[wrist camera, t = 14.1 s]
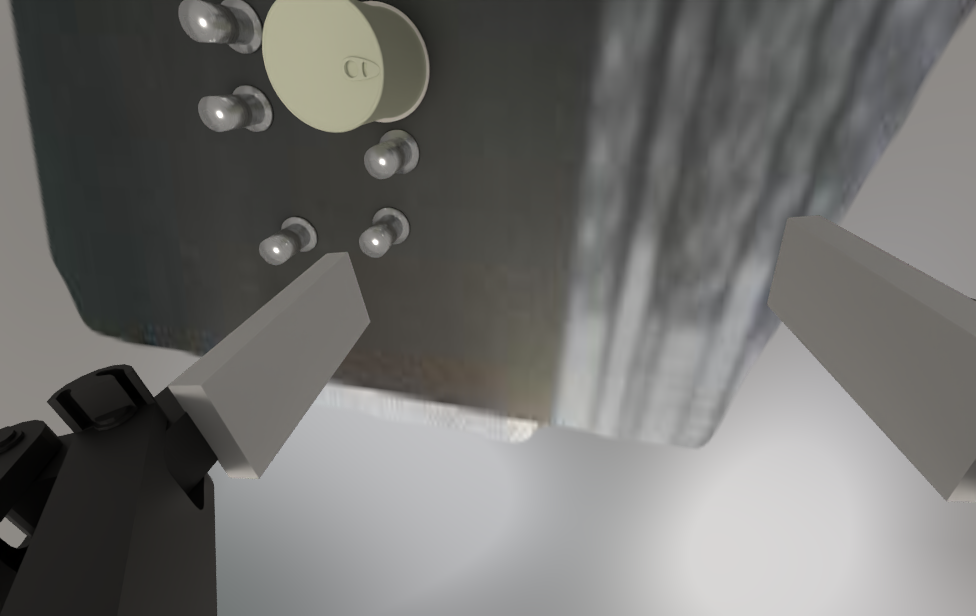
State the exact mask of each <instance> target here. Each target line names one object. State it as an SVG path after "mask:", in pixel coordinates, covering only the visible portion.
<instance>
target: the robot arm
mask: <svg viewBox="0 0 976 616" xmlns="http://www.w3.org/2000/svg"><path fill="white" fill-rule="evenodd" d="M767 305H768V306H769V307H770V308H771V310H772V311H773V312H774V313H775V314H776V315H777V316H778V317H779V318H780V319H781V321H782V322H784V324H785V325H786V326H787V327H788V328H789V329H790V330H791V331H792V333H793V334H794V335H796V337H797V338H798V339H799V340H800V341H801V342H802V344H803V345H804V346H805V347H806V348H807V349H808V350H809V351H810V352H811V353H812V354H813V355H814V357H815V358H816V359H817V360H818V361H819V362H820V363H821V364H822V365H823V366H824V368H825V369H826V370H827V371H828V372H829V373H830V374H831V375H832V376H833V377H834V378H835V380H836V381H837V382H838V383H839V384H840V385H841V386H842V387H843V388H844V389H845V391H846V392H848V394H849V395H850V396H851V397H852V398H853V399H854V400H855V402H856V403H857V404H858V405H859V406H860V407H861V408H862V409H863V410H864V411H865V412H866V414H867V415H868V416H869V417H870V418H871V419H872V420H873V421H874V422H875V423H876V425H877V426H879V428H880V429H881V430H882V431H883V432H884V433H885V434H886V436H887V437H888V438H889V439H890V440H891V441H892V442H893V443H894V444H895V445H896V446H897V448H898V449H899V450H900V451H901V452H902V453H903V454H904V455H905V456H906V457H907V459H909V461H910V462H911V463H912V464H913V465H914V466H915V467H916V468H917V469H918V471H919V472H920V473H921V474H922V475H923V476H924V477H925V478H926V479H927V480H928V482H929V483H930V484H931V485H932V486H933V487H934V488H935V489H936V490H937V491H938V493H939V494H940V495H941V496H942V497H943V498H944V499H945V500H946V501H951V502H976V300H975V299H972V298H969V297H967V296H965V295H963V294H962V293H960V292H958V291H956V290H954V289H953V288H951V287H949V286H947V285H945V284H943V283H942V282H940V281H938V280H936V279H934V278H933V277H931V276H929V275H927V274H925V273H924V272H922V271H920V270H918V269H916V268H914V267H913V266H911V265H909V264H907V263H905V262H904V261H902V260H900V259H898V258H896V257H894V256H892V255H891V254H889V253H887V252H885V251H883V250H882V249H880V248H878V247H876V246H874V245H873V244H871V243H869V242H867V241H865V240H863V239H862V238H860V237H858V236H856V235H854V234H853V233H851V232H849V231H847V230H845V229H843V228H842V227H840V226H838V225H836V224H834V223H833V222H831V221H829V220H827V219H825V218H823V217H822V216H820V215H816V216H803V217H790V218H788V219H787V223H786V227H785V232H784V236H783V240H782V244H781V248H780V252H779V257H778V261H777V265H776V269H775V273H774V277H773V282H772V286H771V290H770V294H769V298H768V303H767ZM369 323H370V319H369V316H368V313H367V310H366V307H365V304H364V301H363V298H362V295H361V292H360V289H359V285H358V282H357V279H356V276H355V273H354V270H353V267H352V264H351V261H350V258H349V255H348V252H341V253H328V254H326V255H324V256H323V257H322V258H321V259H320V260H318V261H317V262H316V263H315V264H314V265H312V266H311V267H310V268H309V269H308V270H306V271H305V272H304V273H303V274H301V275H300V276H299V277H298V278H297V279H295V280H294V281H293V282H292V283H291V284H289V285H288V286H287V287H286V288H285V289H283V290H282V291H281V292H280V293H279V294H277V295H276V296H275V297H274V298H273V299H271V300H270V301H269V302H268V303H267V304H265V305H264V306H263V307H262V308H261V309H259V310H258V311H257V312H256V313H255V314H253V315H252V316H251V317H250V318H249V319H247V320H246V321H245V322H244V323H243V324H241V325H240V326H239V327H238V328H237V329H235V330H234V331H233V332H232V333H230V334H229V335H228V336H227V337H226V338H224V339H223V340H222V341H221V342H220V343H218V344H217V345H216V346H215V347H214V348H212V349H211V350H210V351H209V352H208V353H206V354H205V355H204V356H203V357H202V358H200V359H199V360H198V361H197V362H196V363H195V364H193V365H192V366H191V367H190V368H188V370H186V371H185V372H184V373H182V374H181V375H180V376H179V377H178V378H176V379H175V380H174V381H173V382H172V383H170V384H169V385H168V386H167V387H166V388H165V389H164V390H163V391H161V392H160V393H159V394H158V395H156V396H155V397H153V396H152V394H151V393H150V392H149V390H148V389H147V388H146V386H145V385H144V383H143V382H142V380H141V379H140V377H139V376H138V375H137V373H136V372H135V371H134V369H133V368H132V366H129V365H125V364H124V365H114V366H110V367H106V368H102V369H99V370H96V371H94V372H91V373H89V374H87V375H84V376H82V377H80V378H78V379H76V380H74V381H72V382H71V383H69V384H67V385H65V386H64V387H63V388H61V389H60V390H58V391H57V392H56V393H54V394H53V395H52V397H51V398H50V399H49V400H48V401H47V402H48V404H49V405H50V406H51V407H52V408H53V409H54V410H55V411H56V413H58V415H59V416H60V417H61V418H62V419H63V421H64V422H65V423H66V424H67V425H68V426H69V427H70V428H71V429H72V431H73V432H74V433H71V434H67V435H63V436H57V435H56V434H55V433H54V432H53V431H52V430H51V429H50V428H49V427H48V426H47V425H46V424H45V423H44V421H39V420H33V421H27V422H22V423H19V424H17V425H14V426H11V427H9V426H7V427H5V428H2V429H0V522H1V521H2V520H3V518H4V517H6V518H7V519H8V520H9V521H10V522H12V523H13V524H14V525H15V526H17V527H18V528H19V529H20V530H21V531H22V532H23V533H25V534H26V535H27V537H26V538H25V540H24V541H23V542H22V544H21V545H20V546H19V547H18V548H14V547H11V546H10V545H8V544H7V543H6V542H5V541H3V540H2V539H1V538H0V616H217V593H216V554H215V553H216V551H215V550H216V549H215V509H214V508H215V507H214V484H213V481H212V479H211V477H210V476H209V475H208V473H207V472H208V471H209V470H210V468H211V467H212V466H213V465H214V464H215V463H216V461H217V460H218V461H219V463H220V464H221V466H222V467H223V469H224V470H225V472H226V473H227V475H228V476H229V477H230V478H248V479H249V478H250V479H259V478H260V477H261V475H262V474H263V473H264V471H265V470H266V468H267V467H268V466H269V464H270V463H271V461H272V460H273V459H274V457H275V456H276V454H277V453H278V451H279V450H280V449H281V447H282V446H283V444H284V443H285V441H286V440H287V439H288V437H289V436H290V435H291V433H292V432H293V430H294V429H295V427H296V426H297V425H298V423H299V422H300V420H301V419H302V417H303V416H304V415H305V413H306V412H307V411H308V409H309V408H310V406H311V405H312V404H313V402H314V401H315V399H316V398H317V396H318V395H319V394H320V392H321V391H322V389H323V388H324V387H325V385H326V384H327V382H328V381H329V380H330V378H331V377H332V375H333V374H334V372H335V371H336V370H337V368H338V367H339V365H340V364H341V363H342V361H343V360H344V358H345V357H346V356H347V354H348V353H349V351H350V350H351V348H352V347H353V346H354V344H355V343H356V341H357V340H358V339H359V337H360V336H361V334H362V333H363V332H364V330H365V329H366V327H367V326H368V324H369Z"/></svg>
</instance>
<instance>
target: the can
mask: <svg viewBox="0 0 976 616" xmlns="http://www.w3.org/2000/svg"><path fill="white" fill-rule="evenodd" d="M262 52H263V59H264V64H265V68H266V71H267V74H268V77H269V79H270V82H271V84H272V86H273V88H274V90H275V92H276V93H277V95H278V96H279V98H280V99H281V101H282V102H283V103H284V105H285V106H286V107H287V108H288V109H289V110H290V111H291V112H292V113H293V114H294V115H295V116H296V117H298V118H299V119H300V120H302V121H303V122H304V123H306V124H308V125H310V126H312V127H314V128H316V129H319V130H322V131H327V132H346V131H350V130H353V129H355V128H357V127H359V126H361V125H364V124H367V123H370V122H373V121H376V120H380V119H383V118H393V117H397V116H400V115H402V114H404V113H406V112H407V111H408V110H410V109H411V108H412V107H413V106H414V105H415V104H416V102H417V101H418V99H419V98H420V96H421V94H422V91H423V88H424V85H425V80H426V59H425V54H424V50H423V47H422V44H421V42H420V40H419V38H418V36H417V34H416V32H415V31H414V29H413V28H412V27H411V25H410V24H409V23H408V22H407V21H406V20H405V19H404V18H403V17H401V16H400V15H399V14H397V13H396V12H394V11H392V10H390V9H388V8H385V7H381V6H372V5H369V4H366V3H363V2H360V1H357V0H276V1H275V3H274V4H273V5H272V7H271V9H270V10H269V12H268V15H267V17H266V20H265V24H264V28H263V34H262Z"/></svg>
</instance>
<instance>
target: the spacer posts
mask: <svg viewBox="0 0 976 616" xmlns="http://www.w3.org/2000/svg"><path fill="white" fill-rule="evenodd" d="M179 20H180V23H181V25H182V27H183V29H184V30H185V32H186V33H187V34H188V35H189V36H190V37H191V38H192V39H194V40H196V41H199V42H209V43H222V44H228V45H229V46H230V47H232V48H233V49H234V50H236V51H238V52H240V53H246V54H250V53H254V52H256V51H257V50H259V49H260V47H261V45H262V34H263V25H262V22H261V20H260V17H259V16H258V14H257V12H256V11H255V10H254V9H253V7H252V6H250V5H249V4H248V3H247V2H245V1H243V0H224V1H223V2H222V3H221V4H215V3H210V2H205V1H200V0H184V1H183V2H182V3H181V4H180V6H179ZM198 111H199V115H200V117H201V119H202V121H203V122H204V123H205V125H206V126H207V127H209V128H210V129H212V130H214V131H217V132H222V131H227V130H232V129H237V128H242V127H245V128H247V129H249V130H251V131H255V132H260V131H265V130H267V129H268V128H269V127H270V126H271V125H272V122H273V118H274V113H273V108H272V105H271V103H270V101H269V99H268V98H267V96H266V95H265V94H264V93H263V92H262V91H261V90H259V89H258V88H256V87H253V86H248V85H247V86H240V87H238V88H236V89H235V90H234V92H233V94H232V95H221V96H209V97H204V98H202V99H201V100H200V102H199V105H198ZM419 156H420V152H419V147H418V144H417V142H416V140H415V139H414V138H413V137H412V136H411V135H410V134H409V133H407V132H406V131H403V130H398V129H397V130H391V131H389V132H387V133H385V134H384V135H383V136H382V138H381V140H380V142H379V144H378V145H375V146H373V147H371V148H370V149H368V150H367V152H366V154H365V157H364V163H365V167H366V169H367V171H368V172H369V173H370V174H371V175H372V176H374V177H375V178H378V179H386V178H388V177H390V176H391V175H393V174H394V173H399V174H403V173H407V172H410V171H411V170H412V169H414V168H415V167H416V165H417V163H418V161H419ZM409 232H410V224H409V221H408V219H407V217H406V216H405V215H404V214H403V213H402V212H401V211H399V210H398V209H395V208H391V207H386V208H383V209H381V210H379V211H378V212H377V213H376V214H375V216H374V218H373V225H372V226H371V227H370V228H368V229H367V230H366V231H365V232H364V233H363V234H362V235H361V236H360V239H359V245H360V248H361V249H362V251H363V252H364V253H365V254H366V255H368V256H370V257H374V258H377V257H381V256H383V255H384V254H385V252H386V251H387V250H388V249H389V248H390V247H391V246H392V245H393V244H399V243H402V242H403V241H404V240H405V239H406V238H407V237H408V235H409ZM317 241H318V235H317V232H316V230H315V228H314V226H313V225H312V224H311V223H310V222H309V221H308V220H306V219H304V218H302V217H297V216H294V217H290V218H288V219H287V220H285V221H284V223H283V225H282V230H280V231H279V232H277V233H276V234H274V235H272V236H271V237H269V238H267V239H266V240H264V241H262V242H261V243H260V246H259V251H260V254H261V256H262V257H263V258H264V260H266V261H267V262H268V263H270V264H273V265H280V264H282V263H283V262H285V261H286V260H287V259H289V258H290V257H291V256H293V255H294V254H296V253H297V252H298V251H303V252H305V251H309V250H311V249H313V248H314V247H315V246H316V244H317Z"/></svg>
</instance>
